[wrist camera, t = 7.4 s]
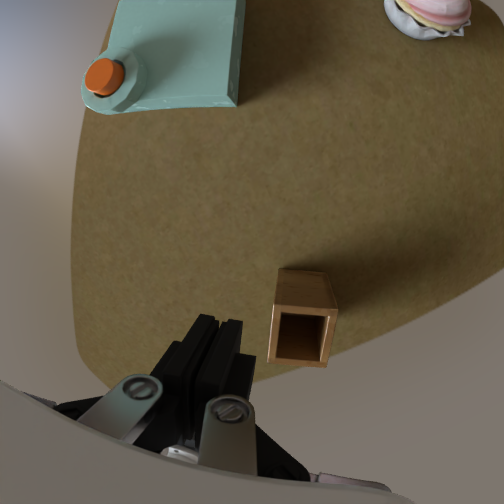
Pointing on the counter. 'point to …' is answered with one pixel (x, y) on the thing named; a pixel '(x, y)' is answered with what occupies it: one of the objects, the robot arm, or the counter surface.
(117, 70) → the button
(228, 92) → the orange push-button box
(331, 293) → the open wooden box
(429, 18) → the cupcake
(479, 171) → the counter surface
